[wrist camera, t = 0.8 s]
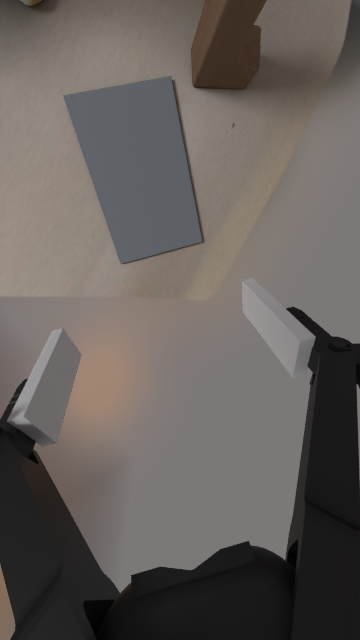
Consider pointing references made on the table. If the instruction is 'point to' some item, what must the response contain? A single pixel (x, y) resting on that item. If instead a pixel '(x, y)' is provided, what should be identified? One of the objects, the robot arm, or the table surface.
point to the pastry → (31, 2)
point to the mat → (138, 165)
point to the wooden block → (226, 44)
